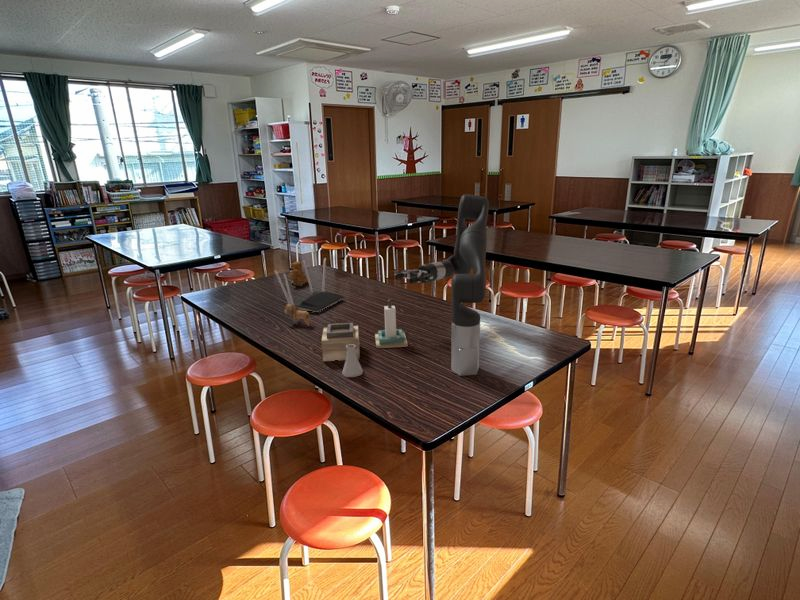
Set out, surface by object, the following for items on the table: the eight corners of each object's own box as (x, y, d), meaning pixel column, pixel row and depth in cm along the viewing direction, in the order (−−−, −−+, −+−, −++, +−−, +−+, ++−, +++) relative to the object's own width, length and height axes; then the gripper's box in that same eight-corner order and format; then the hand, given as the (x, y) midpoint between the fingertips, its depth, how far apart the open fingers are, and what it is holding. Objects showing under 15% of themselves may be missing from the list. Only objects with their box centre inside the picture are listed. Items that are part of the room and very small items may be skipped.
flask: (343, 379, 147) (342, 351, 144) (339, 370, 154) (337, 343, 151) (365, 376, 149) (363, 348, 146) (360, 366, 156) (359, 340, 153)
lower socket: (407, 346, 171) (407, 339, 170) (376, 348, 170) (376, 341, 169) (404, 334, 183) (404, 327, 182) (375, 336, 182) (374, 329, 181)
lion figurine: (283, 324, 197) (281, 305, 194) (291, 320, 202) (288, 301, 199) (312, 328, 192) (310, 308, 189) (319, 324, 196) (317, 304, 194)
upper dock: (359, 359, 162) (358, 333, 159) (323, 361, 161) (320, 335, 157) (359, 344, 174) (357, 320, 171) (325, 346, 173) (323, 322, 170)
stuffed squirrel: (309, 281, 265) (307, 259, 261) (306, 287, 252) (304, 265, 248) (292, 281, 265) (290, 260, 261) (288, 288, 251) (286, 265, 247)
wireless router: (311, 318, 204) (307, 275, 198) (271, 312, 213) (266, 271, 207) (349, 297, 233) (347, 259, 227) (312, 292, 242) (309, 256, 236)
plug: (396, 340, 174) (395, 301, 170) (386, 341, 174) (384, 302, 169) (395, 336, 178) (394, 298, 173) (385, 337, 178) (383, 298, 173)
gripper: (420, 260, 188) (390, 266, 178) (444, 265, 178) (414, 272, 168) (420, 278, 190) (390, 285, 180) (444, 284, 180) (414, 291, 170)
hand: (402, 278), depth 174 cm, fingers open, 8 cm apart
